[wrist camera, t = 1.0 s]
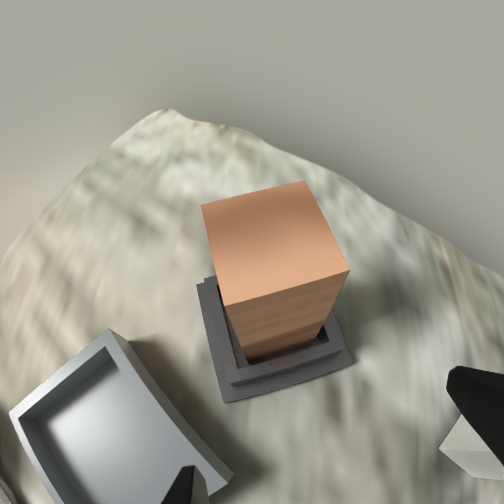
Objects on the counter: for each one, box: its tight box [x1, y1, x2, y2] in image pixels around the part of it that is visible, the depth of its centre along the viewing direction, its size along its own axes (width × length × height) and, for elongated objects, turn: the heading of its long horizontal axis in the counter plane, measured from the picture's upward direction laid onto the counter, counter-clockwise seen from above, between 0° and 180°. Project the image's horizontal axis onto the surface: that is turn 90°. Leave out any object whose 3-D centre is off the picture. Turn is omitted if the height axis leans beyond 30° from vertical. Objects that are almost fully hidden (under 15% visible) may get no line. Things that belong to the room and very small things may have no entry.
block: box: [201, 181, 350, 363], centre depth 17 cm, size 5×5×12 cm
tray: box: [9, 328, 235, 504], centre depth 16 cm, size 14×14×4 cm
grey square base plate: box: [196, 275, 353, 403], centre depth 22 cm, size 10×10×3 cm
